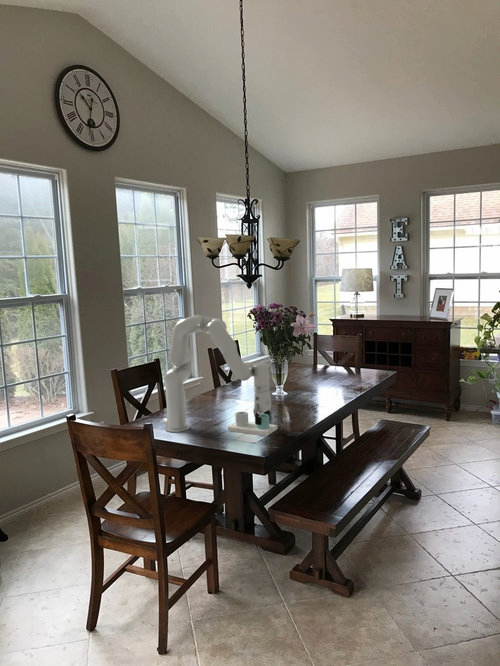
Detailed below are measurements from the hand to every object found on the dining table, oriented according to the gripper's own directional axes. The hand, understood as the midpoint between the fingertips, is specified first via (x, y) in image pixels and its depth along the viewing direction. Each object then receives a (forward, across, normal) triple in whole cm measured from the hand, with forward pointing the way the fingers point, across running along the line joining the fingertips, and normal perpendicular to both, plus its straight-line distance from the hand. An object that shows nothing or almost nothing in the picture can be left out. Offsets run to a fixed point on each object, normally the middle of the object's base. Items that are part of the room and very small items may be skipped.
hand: (262, 421), depth 270 cm
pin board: (+5, 0, +6) cm, 8 cm away
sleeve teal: (+3, 0, 0) cm, 3 cm away
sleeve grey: (+3, 0, +12) cm, 12 cm away
